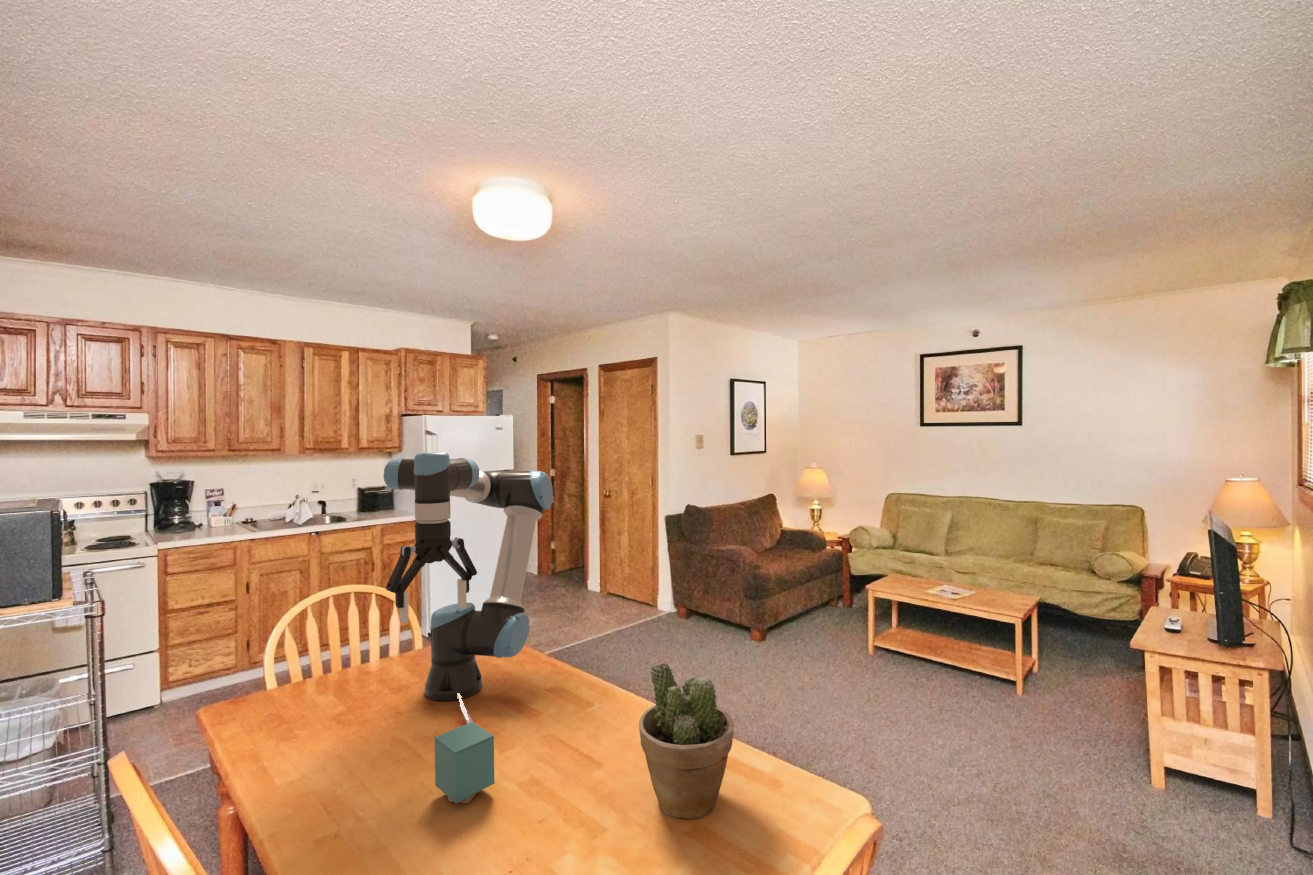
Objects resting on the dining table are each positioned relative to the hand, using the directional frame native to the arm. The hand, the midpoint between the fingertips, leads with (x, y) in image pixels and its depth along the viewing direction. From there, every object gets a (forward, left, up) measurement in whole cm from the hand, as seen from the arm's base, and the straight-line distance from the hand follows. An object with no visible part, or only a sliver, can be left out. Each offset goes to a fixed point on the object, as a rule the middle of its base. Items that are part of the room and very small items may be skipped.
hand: (434, 614), depth 132 cm
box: (+4, +20, -31) cm, 37 cm away
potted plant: (-24, +54, -31) cm, 67 cm away
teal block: (+4, +20, -29) cm, 35 cm away
